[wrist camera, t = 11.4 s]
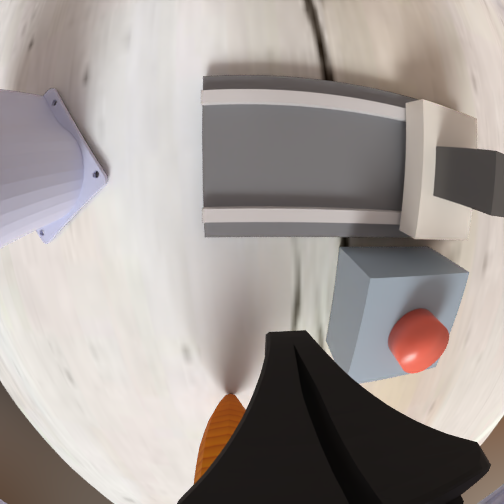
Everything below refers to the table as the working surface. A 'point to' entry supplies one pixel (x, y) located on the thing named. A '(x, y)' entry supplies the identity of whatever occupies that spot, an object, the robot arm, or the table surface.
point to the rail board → (301, 158)
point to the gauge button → (418, 340)
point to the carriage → (447, 174)
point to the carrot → (218, 432)
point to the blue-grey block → (387, 303)
